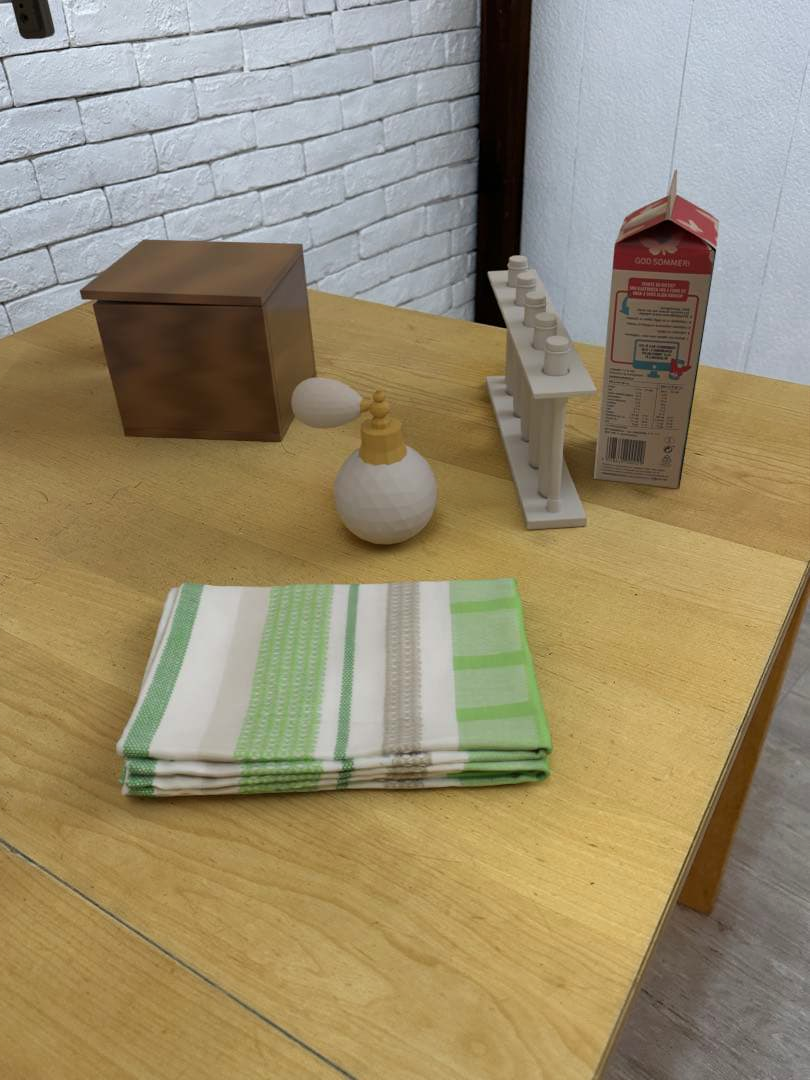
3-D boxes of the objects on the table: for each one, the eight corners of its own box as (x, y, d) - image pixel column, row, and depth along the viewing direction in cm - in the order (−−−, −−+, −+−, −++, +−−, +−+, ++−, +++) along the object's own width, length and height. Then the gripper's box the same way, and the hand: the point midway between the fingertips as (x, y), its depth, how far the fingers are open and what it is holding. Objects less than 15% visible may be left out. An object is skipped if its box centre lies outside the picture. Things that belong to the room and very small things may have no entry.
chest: (124, 435, 82) (91, 304, 75) (178, 372, 93) (153, 252, 86) (280, 442, 80) (262, 307, 72) (316, 375, 90) (303, 252, 83)
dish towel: (176, 604, 61) (166, 563, 59) (515, 587, 61) (516, 545, 59) (116, 812, 47) (100, 767, 45) (556, 791, 47) (559, 745, 45)
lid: (81, 299, 75) (79, 290, 74) (144, 247, 85) (143, 239, 85) (262, 306, 72) (261, 296, 72) (303, 252, 83) (302, 243, 83)
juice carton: (593, 478, 72) (619, 192, 60) (604, 439, 77) (629, 168, 65) (679, 488, 70) (724, 196, 58) (684, 447, 76) (726, 171, 63)
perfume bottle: (446, 555, 65) (442, 403, 58) (310, 570, 64) (290, 419, 57) (430, 500, 71) (425, 356, 64) (306, 513, 70) (287, 369, 63)
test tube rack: (485, 384, 87) (487, 246, 80) (531, 381, 87) (537, 243, 80) (526, 530, 67) (534, 364, 59) (586, 526, 67) (601, 359, 59)
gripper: (-32, -244, 66) (34, 29, 76) (-150, -270, 55) (-54, 51, 65) (64, -252, 65) (119, 26, 75) (-37, -281, 54) (43, 48, 64)
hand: (38, 37), depth 70 cm, fingers closed
